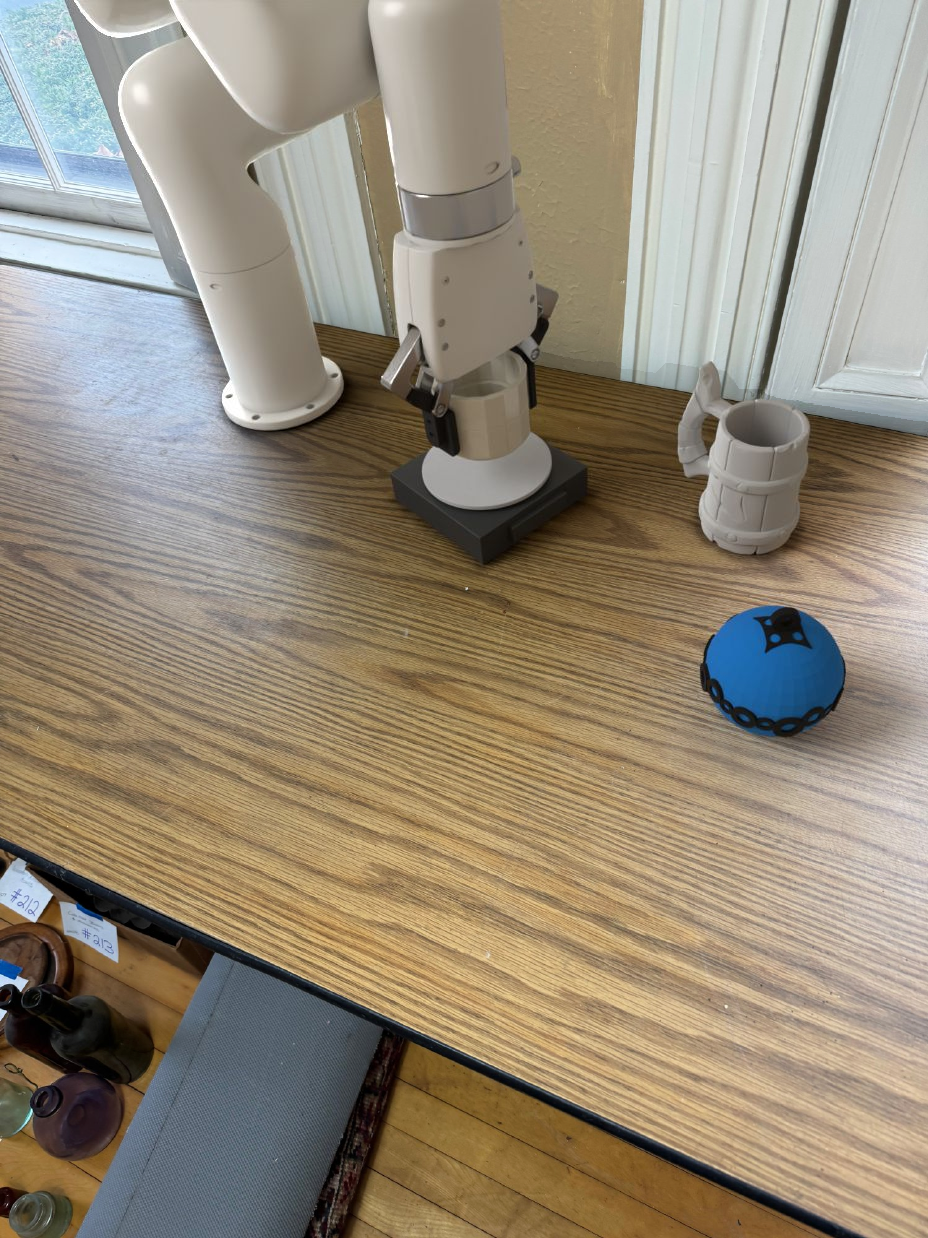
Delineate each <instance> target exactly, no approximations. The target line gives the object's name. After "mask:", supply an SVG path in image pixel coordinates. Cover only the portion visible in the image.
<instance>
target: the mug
mask: <svg viewBox="0 0 928 1238" xmlns="http://www.w3.org/2000/svg"><path fill="white" fill-rule="evenodd" d="M709 415H712V416H713V417H715V418H716V419H718V424H717V425H718V426H717V430H716V434H715V440H714V442H713V443H712V445H711V446H710V450H709V452H708V450H707V447H706V445H705V442H704V439H702V434H703V424H704V423H703V422H704V420H705V419H706V418H707V417H708V416H709ZM810 433H811V423H810V421H809V419H808V416H806V415H805V413H803V412H802V411H801V410H800V409H798V408H796V406H793V405H791V404H790V403H786V402H784V401H779V400H773V399H769V398H768V399H766V398H756V399H755V400H754V399H747V400H742V401H739V402H737V403H735V404H732V403H730V402H729V401H727V400H725V399H724V398H722V384H721V379H720V374H719V371H718V368H717V367H716V365H715V363H714V362H713V361H711V360H710V361H708V362H706V363H704V364H702V365H701V366H700V367H699V375H698V380H697V383H696V386H695V387H694V389H693V391H692V395H691V396H690V399H689V401H688V402H687V405H686V408H685V410H684V412H683V415H682V419H681V420H680V422H679V423H678V428H677V440H678V441H677V455H678V460H679V463H680V464H682V467H683V473H684V476H685V477H687V478H688V479H692V478H695V477H696V476H707V477H708V480H707V484H706V488H705V489H704V491H703V492H702V494H701V495H700V499H699V504H698V516H699V519H700V521H701V522H700V524H701V529H702V531H703V534H704V535H705V536H706V538H707V539H708V540H709V541H710V542H715V543H716V544H717V546H718V547H719V548H720V549H723V550H726V551H728V552H732V553H735V554H740V555H753V554H754V553H755V554H756V555H763V554H767V553H769V552H772V551H773V552H774V551H775V550H776V549H779V548H780V547H782V546H783V545H784V544H785V543H786V542H787V541H788V540H789V538H790V537H791V535H792V533H793V531H794V530H795V528H796V527H797V526H798V523H799V520H800V516H801V504H800V501H799V494H800V490H801V489H800V488H801V485H802V484H801V483H802V480H803V478H805V476H806V473H807V469H808V466H809V453H808V451H807V449H808V446H809V445H808V444H809V440H810ZM708 453H709V455H707V454H708Z"/></svg>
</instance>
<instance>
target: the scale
mask: <svg viewBox="0 0 928 1238" xmlns="http://www.w3.org/2000/svg"><path fill="white" fill-rule="evenodd" d="M588 467H589V466H588V465H586V464H585V463H582V462H581V461H580V460H577V459H575V458H574V457H573V456H570V455H569V454H567V453H566V452H564V451H562V450H560V449H559V448H557V447H555V446H554V445H552V444H551V443H549V442H547V441H546V440H543V439H542V438H541V437H540V436H539V435H537V434H536V433H534V432H532V431H530V435H529V436H528V437H527V439H526V440H525V442H524V443H523V444H522V445H521V446H519V447H518V448H517V449H516V450H515V451H513V452H512V453H510V454H508V455H506V456H504V457H501V458H498V459H494V460H489V461H472V460H467V459H464V458H461V457H459V456H457V455H456V456H454V457H452V456H450V455H449V454H447V453H446V452H444V451H443V450H441V449H440V448H436V447H435V446H433V445H432V447H431V448H429V449H427V450H426V451H424V452H423V453H421V454H419V455H418V456H415V457H414V458H412V459H411V460H409V461H407V462H406V463H404V464H402V465H401V466H399V467H397V468H396V469H395V470H393V471H391V472H389V475H390V480H391V484H392V489H393V493H394V499H395V500H396V501H397V502H398V503H400V504H401V505H402V506H404V507H405V508H407V509H408V510H409V511H411V512H412V513H413V514H415V515H416V516H417V517H418V518H420V519H421V520H423V521H424V522H425V523H427V524H428V525H429V526H431V527H432V528H433V529H435V530H436V531H437V532H438V533H440V534H441V535H442V536H444V537H445V538H446V539H448V540H449V541H451V542H452V543H453V544H455V545H456V546H457V547H459V548H460V549H461V550H463V551H464V552H465V553H467V554H468V555H469V556H471V558H473V559H474V560H476V561H477V562H479V563H480V564H481V565H483V566H484V565H486V564H487V563H488V562H490V561H492V560H493V559H494V558H496V557H498V556H499V555H501V554H502V553H503V552H505V551H506V550H508V549H509V548H511V547H512V546H513V545H515V544H516V543H518V542H519V541H521V540H522V539H523V538H525V537H527V536H528V535H529V534H531V533H532V532H534V531H536V530H537V529H538V528H540V527H541V526H543V525H544V524H545V523H547V522H548V521H550V520H551V519H553V518H554V517H556V516H557V515H559V514H561V513H562V512H563V511H565V510H566V509H567V508H569V507H570V506H572V505H573V504H575V503H576V502H577V501H580V500H581V499H582V498H584V497H585V496H586V495H588V493H589V492H588V491H589V489H588V488H589V485H588V483H589V482H588V479H589V477H588V474H589V473H588V471H589V470H588Z"/></svg>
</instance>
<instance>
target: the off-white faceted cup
mask: <svg viewBox="0 0 928 1238" xmlns="http://www.w3.org/2000/svg"><path fill="white" fill-rule="evenodd" d="M437 383H438V381H437V380H436V379H435V378H434V382H433V385H432V389H431V394H433V395H434V394H435V390H436V386H437ZM448 408H449V409H450V410H452V411H453V412H454V413H455V418H456V424H457V431H458V438H459V444H460V451H459V454H458V455H457V456H459V457H461V458H464V459H467V460H472V461H489V460H494V459H498V458H501V457H504V456H506V455H508V454H510V453H512V452H513V451H515V450H516V449H517V448H518V447H519V446H521V445H522V444H523V443H524V442H525V440H526V439H527V437H528V436H529V435H530V432H531V425H532V420H531V409H530V404H529V390H528V376H527V365H526V363H525V362H524V360H523V359H522V358H521V356H520V355H518V354H516V353H514V352H512V351H510V350H507V351H506V352H504V353H502V354H500V355H499V356H497V357H495V358H493V359H492V360H490V361H488V362H486V363H485V364H483V365H481V366H479V367H478V368H476V369H474V370H472V371H470V372H469V373H467V374H465V375H463V376H461V377H459V378H457V379H456V380H455V384H454V387H453V391H452V394H451V398H450V401H449V405H448Z"/></svg>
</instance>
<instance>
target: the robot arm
mask: <svg viewBox="0 0 928 1238" xmlns="http://www.w3.org/2000/svg"><path fill="white" fill-rule="evenodd" d="M74 2H75V4H76V5H77V7H78V8H79V10H80V12H81V13H82V14H83V15H84V16H85V18H86V19H87V21H88V22H89V23H90V24H91V25H93V26H94V27H95V28H96V29H97V31H99V32H101V33H103V34H104V35H107V36H111V37H115V38H126V37H127V38H128V37H133V36H137V35H138V36H139V35H142V34H145V33H148V32H151V31H154V30H157V29H160V28H163V27H166V26H168V25H171V24H174V23H177V22H180V24H181V26H182V27H183V29H184V31H186V33H187V36H184V37H182V38H179V39H176V40H174V41H171V42H168V43H166V44H163V45H161V46H158V47H157V48H154V49H152V50H151V51H149V52H147V53H145V54H144V55H143V56H141V57H140V58H138V59H136V60H135V62H133V64H132V65H131V66H130V67H128V69H127V71H126V72H125V74H124V75H123V77H122V80H121V81H120V85H119V90H118V107H119V113H120V117H121V120H122V122H123V125H124V128H125V132H126V133H127V135H128V137H129V140H130V141H131V143H132V146H133V147H134V149H135V150H136V152H137V154H138V156H139V158H140V160H141V161H142V163H143V165H144V166H145V168H146V170H147V172H148V174H149V176H150V177H151V179H152V181H153V183H154V185H155V187H156V189H157V191H158V193H159V195H160V197H161V199H162V202H163V204H164V206H165V209H166V210H167V213H168V215H169V218H170V220H171V222H172V225H173V227H174V229H175V232H176V236H177V238H178V240H179V243H180V246H181V248H182V252H183V254H184V257H185V259H186V262H187V264H188V266H189V269H190V272H191V274H192V277H193V280H194V282H195V286H196V288H197V291H198V294H199V296H200V299H201V302H202V305H203V308H204V311H205V313H206V316H207V318H208V322H209V325H210V328H211V330H212V333H213V335H214V338H215V341H216V344H217V346H218V349H219V352H220V355H221V358H222V360H223V363H224V366H225V368H226V369H225V370H226V372H227V373H228V377H229V382H228V383H227V384H226V386H225V387H224V389H223V392H222V396H221V401H222V402H221V403H222V406H223V409H224V411H225V414H226V415H227V417H228V418H229V419H230V420H231V421H232V422H233V423H235V424H236V425H239V426H241V427H242V428H247V429H250V430H255V431H279V430H285V429H286V430H287V429H289V428H294V427H298V426H301V425H303V424H306V423H309V422H311V421H313V420H315V419H316V418H319V417H320V416H322V415H324V414H325V413H326V412H328V411H329V410H330V409H331V408H332V407H333V406H335V404H337V402H338V400H339V399H340V398H341V396H342V394H343V391H344V386H345V381H344V377H343V373H342V371H341V368H340V367H339V365H337V363H336V362H334V361H333V360H332V359H330V358H328V357H325V356H323V355H322V352H321V348H320V345H319V344H320V343H319V339H318V336H317V333H316V329H315V325H314V321H313V317H312V314H311V310H310V306H309V302H308V299H307V294H306V291H305V286H304V283H303V280H302V276H301V271H300V269H299V264H298V261H297V257H296V252H295V250H294V245H293V242H292V238H291V235H290V231H289V227H288V223H287V220H286V217H285V216H284V213H283V211H282V209H281V208H280V207H281V206H279V204H278V202H277V201H276V200H275V198H273V197H272V196H271V195H270V193H268V192H267V191H266V190H265V189H264V188H262V187H261V186H260V185H259V184H258V183H256V182H255V181H254V180H253V179H252V177H251V176H250V175H249V173H248V167H249V165H250V164H252V163H253V162H255V161H258V160H259V159H260V158H262V157H263V156H265V155H267V154H270V153H272V152H274V151H276V150H279V148H282V147H284V146H286V145H288V144H290V143H293V142H294V141H296V140H298V139H301V138H302V137H304V136H306V135H307V134H309V133H311V132H312V131H313V130H315V129H317V127H319V126H320V125H322V124H325V123H327V122H328V121H331V120H332V119H335V118H337V117H339V116H341V115H343V114H346V113H347V112H349V111H351V110H354V109H356V108H358V107H360V106H362V105H365V104H367V103H370V102H373V101H376V100H378V99H380V98H381V102H382V107H383V109H382V110H383V113H384V120H385V125H386V126H385V127H386V131H387V138H388V144H389V150H390V156H391V157H390V158H391V162H392V163H391V164H392V168H393V173H394V174H393V175H394V178H395V186H396V191H397V198H398V203H399V209H400V210H399V211H400V215H401V222H402V227H403V228H402V229H401V230H400V231H399V232H397V233H396V234H394V238H393V251H392V285H393V298H394V300H393V301H394V308H395V319H396V327H397V334H398V335H397V336H398V340H399V341H398V342H399V348H398V349H397V351H396V352H395V354H394V356H393V358H392V359H391V360H390V363H389V364H388V365H387V367H386V369H385V371H384V372H383V374H382V376H381V379H380V384H381V386H382V387H383V388H384V389H386V390H388V391H389V392H390V393H392V394H394V395H395V396H397V397H398V398H399V399H401V400H403V401H405V402H406V403H407V404H409V405H411V406H412V407H414V408H416V409H419V410H421V413H422V418H423V419H422V420H423V424H424V429H425V430H424V431H425V435H426V439H427V441H428V443H429V444H430V445H431V446H432V447H433V446H435V447H436V448H440V449H441V450H443V451H444V452H446V453H447V454H449V455H450V456H452V457H454V456H456V455H458V454H459V451H460V444H459V438H458V431H457V424H456V418H455V413H454V412H453V411H452V410H450V409H449V408H448V405H449V401H450V398H451V394H452V391H453V387H454V384H455V380H456V379H457V378H459V377H461V376H463V375H465V374H467V373H469V372H470V371H472V370H474V369H476V368H478V367H479V366H481V365H483V364H485V363H486V362H488V361H490V360H492V359H493V358H495V357H497V356H499V355H500V354H502V353H504V352H506V351H507V350H510V351H512V352H514V353H516V354H518V355H520V356H521V358H522V359H523V360H524V362H525V363H526V365H527V376H528V390H529V404H530V410H533V409H534V408H535V407H537V405H538V400H537V398H538V397H537V383H536V370H535V369H536V367H535V362H537V361H538V360H539V359H540V357H541V354H542V350H541V347H540V345H541V344H542V342H543V340H544V338H545V336H546V334H547V333H548V330H549V327H550V320H549V319H551V317H552V316H553V313H554V310H555V308H556V305H557V303H558V301H559V292H558V290H557V291H556V290H554V289H552V288H549V287H547V286H545V285H542V284H540V283H537V282H536V276H535V268H534V262H533V255H532V250H531V245H530V240H529V236H528V235H529V234H528V231H527V227H526V223H525V219H524V216H523V213H522V210H521V207H520V206H519V204H518V203H516V202H515V190H514V178H516V177H518V176H520V175H521V172H522V165H521V162H520V160H519V158H518V157H517V156H515V155H513V154H512V153H511V151H512V149H511V137H510V136H511V135H510V123H509V122H510V121H509V107H508V97H507V96H508V95H507V82H506V80H507V79H506V69H505V53H504V40H503V38H504V37H503V26H502V13H501V12H502V10H501V3H500V0H74ZM418 365H420V367H419V371H418V375H417V377H416V378H417V379H416V381H415V385H413V384H412V383H411V378H412V375H413V373H414V372H415V370H416V368H417V366H418ZM434 378H435V379H436V380H437V381H438V383H437V386H436V390H435V394H434V395H433V394H432V391H431V389H432V385H433V382H434Z"/></svg>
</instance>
